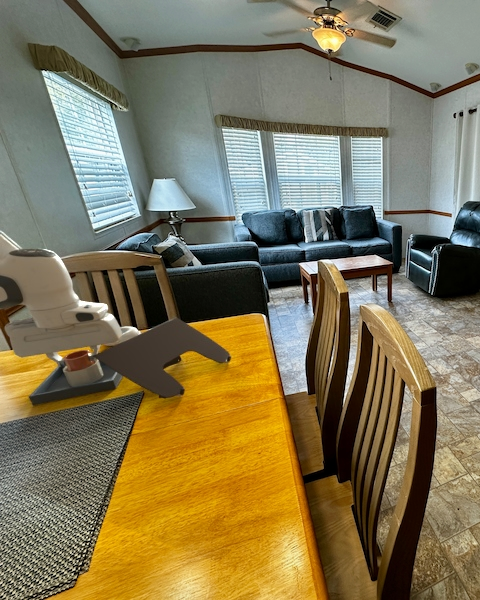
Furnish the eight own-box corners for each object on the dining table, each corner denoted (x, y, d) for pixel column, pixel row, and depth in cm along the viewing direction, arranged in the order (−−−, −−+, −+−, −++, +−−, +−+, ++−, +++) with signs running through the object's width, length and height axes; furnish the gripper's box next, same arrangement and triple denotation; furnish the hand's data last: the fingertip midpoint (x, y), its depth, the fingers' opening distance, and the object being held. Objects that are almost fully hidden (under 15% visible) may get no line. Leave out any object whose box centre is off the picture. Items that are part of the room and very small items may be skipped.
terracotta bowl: (65, 375, 83) (59, 361, 81) (74, 365, 87) (68, 352, 86) (90, 370, 85) (84, 357, 83) (97, 360, 89) (92, 348, 88)
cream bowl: (64, 389, 83) (57, 374, 81) (76, 375, 89) (70, 361, 87) (98, 383, 86) (92, 368, 84) (107, 369, 91) (102, 355, 90)
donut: (143, 331, 114) (108, 336, 111) (141, 322, 113) (105, 327, 109) (135, 344, 106) (96, 350, 102) (132, 335, 104) (92, 340, 101)
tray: (32, 405, 78) (28, 396, 77) (61, 374, 90) (57, 366, 89) (116, 388, 84) (112, 380, 83) (132, 361, 96) (129, 353, 96)
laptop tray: (166, 423, 81) (170, 399, 77) (91, 375, 82) (91, 349, 78) (234, 371, 101) (240, 350, 97) (173, 334, 103) (176, 311, 99)
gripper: (-8, 327, 74) (19, 378, 79) (105, 312, 81) (123, 359, 86) (9, 316, 79) (33, 365, 84) (114, 303, 87) (130, 348, 92)
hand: (80, 362), depth 85 cm, fingers closed on terracotta bowl, 5 cm apart
